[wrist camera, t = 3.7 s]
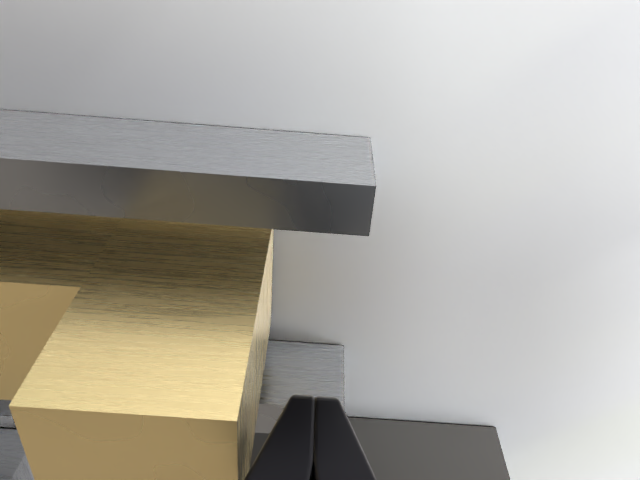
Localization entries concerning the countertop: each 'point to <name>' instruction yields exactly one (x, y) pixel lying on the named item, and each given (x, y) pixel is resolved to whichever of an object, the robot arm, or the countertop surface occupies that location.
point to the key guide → (198, 198)
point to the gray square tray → (424, 450)
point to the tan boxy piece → (133, 344)
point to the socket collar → (13, 457)
